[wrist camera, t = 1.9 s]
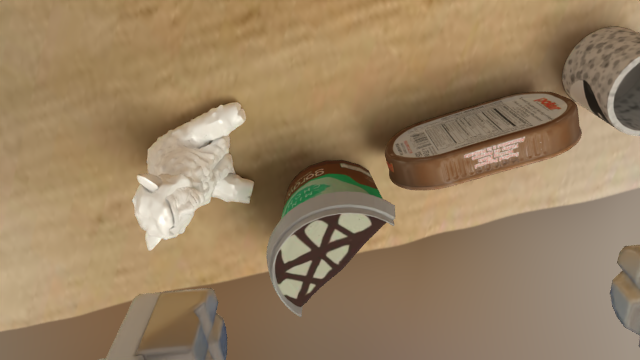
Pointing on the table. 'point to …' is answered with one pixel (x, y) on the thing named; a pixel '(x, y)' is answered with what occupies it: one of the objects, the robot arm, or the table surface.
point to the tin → (482, 140)
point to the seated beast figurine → (189, 173)
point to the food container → (323, 228)
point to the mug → (607, 77)
